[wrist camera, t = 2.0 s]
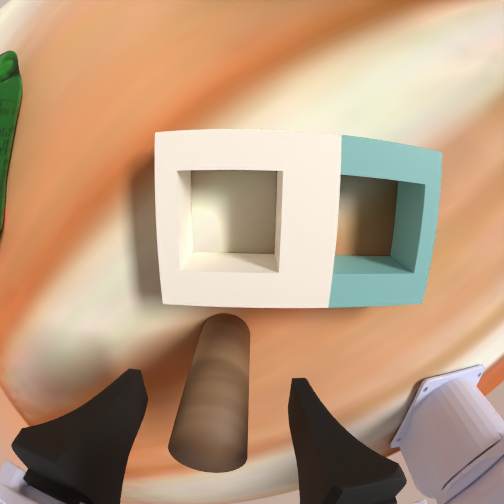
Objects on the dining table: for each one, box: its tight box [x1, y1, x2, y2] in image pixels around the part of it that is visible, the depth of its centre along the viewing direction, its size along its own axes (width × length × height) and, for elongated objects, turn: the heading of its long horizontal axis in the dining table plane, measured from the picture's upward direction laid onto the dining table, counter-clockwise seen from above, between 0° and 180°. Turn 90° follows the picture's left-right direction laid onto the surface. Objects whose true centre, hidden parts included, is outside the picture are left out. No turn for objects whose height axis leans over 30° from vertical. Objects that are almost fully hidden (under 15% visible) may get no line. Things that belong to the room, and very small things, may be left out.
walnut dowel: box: [168, 313, 250, 473], centre depth 13 cm, size 3×3×9 cm
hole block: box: [155, 129, 442, 308], centre depth 14 cm, size 8×14×3 cm, turn 89°
